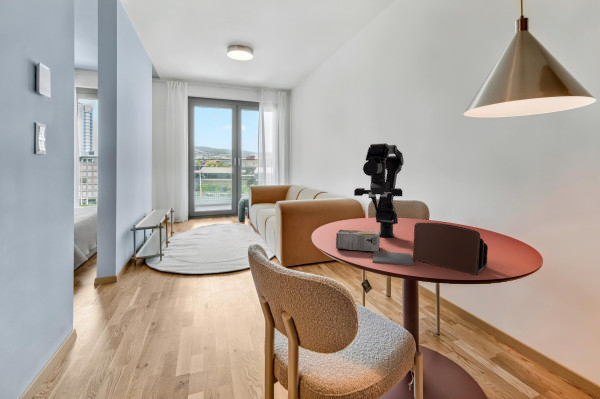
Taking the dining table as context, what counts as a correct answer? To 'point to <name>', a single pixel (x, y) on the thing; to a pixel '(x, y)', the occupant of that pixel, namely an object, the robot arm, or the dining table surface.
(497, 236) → the dining table surface
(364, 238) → the coffee box
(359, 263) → the dining table surface
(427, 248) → the letter holder
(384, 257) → the mat
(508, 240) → the dining table surface
